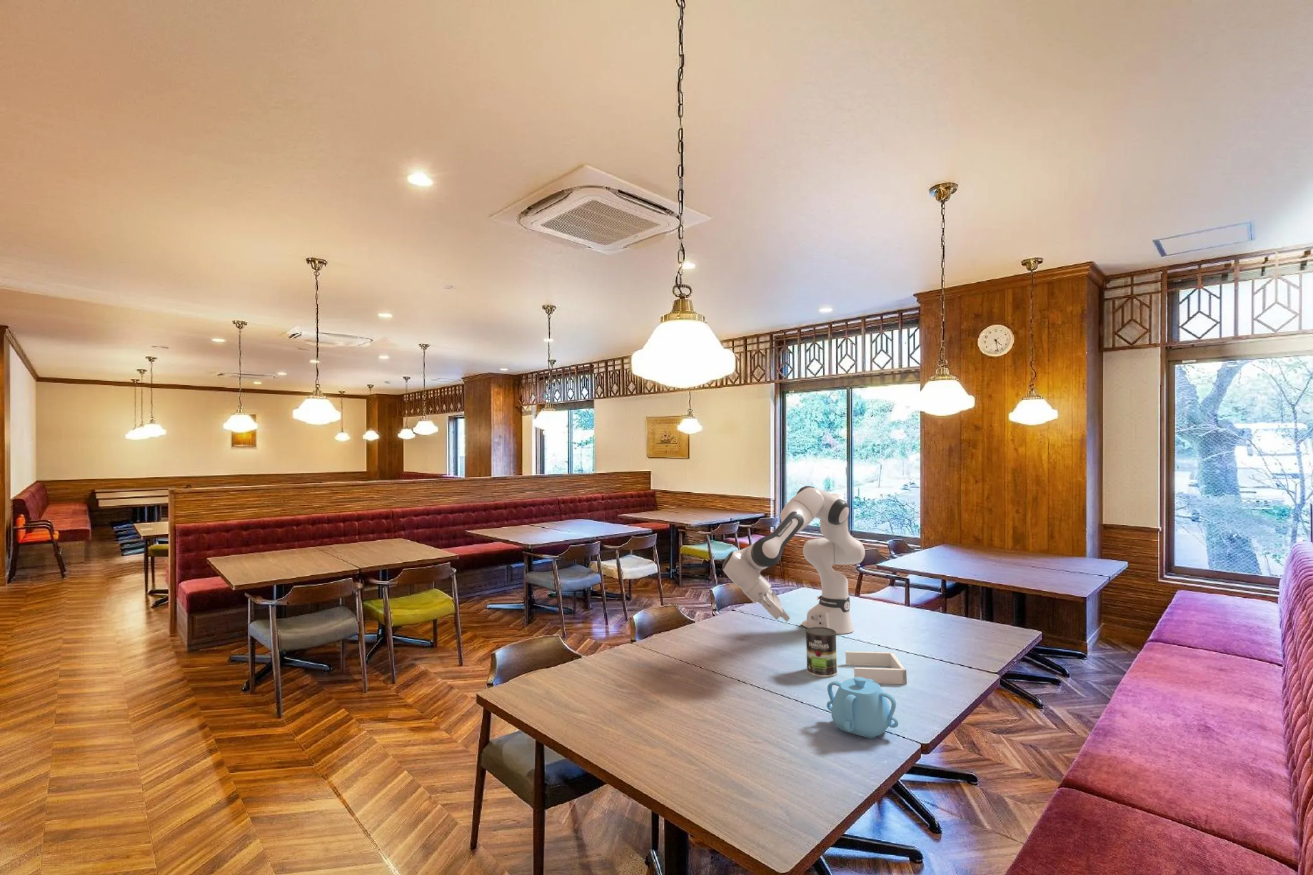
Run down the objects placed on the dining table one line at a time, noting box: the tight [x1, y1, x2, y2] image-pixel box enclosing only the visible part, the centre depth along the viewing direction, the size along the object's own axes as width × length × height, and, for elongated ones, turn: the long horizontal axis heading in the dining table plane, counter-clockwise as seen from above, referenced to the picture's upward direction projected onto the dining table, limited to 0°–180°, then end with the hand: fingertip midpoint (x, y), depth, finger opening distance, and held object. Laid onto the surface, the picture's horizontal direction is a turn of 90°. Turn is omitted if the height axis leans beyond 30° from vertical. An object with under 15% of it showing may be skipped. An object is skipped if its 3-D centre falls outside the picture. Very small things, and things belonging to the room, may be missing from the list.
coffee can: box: [805, 627, 838, 678], centre depth 199 cm, size 10×10×14 cm
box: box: [845, 650, 908, 685], centre depth 196 cm, size 16×17×4 cm
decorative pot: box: [826, 677, 899, 739], centre depth 157 cm, size 16×16×14 cm
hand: (788, 619), depth 201 cm, fingers closed
